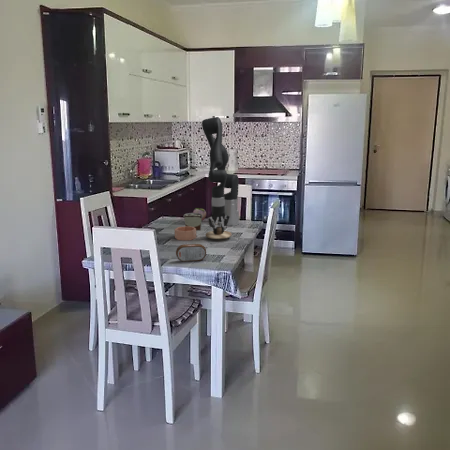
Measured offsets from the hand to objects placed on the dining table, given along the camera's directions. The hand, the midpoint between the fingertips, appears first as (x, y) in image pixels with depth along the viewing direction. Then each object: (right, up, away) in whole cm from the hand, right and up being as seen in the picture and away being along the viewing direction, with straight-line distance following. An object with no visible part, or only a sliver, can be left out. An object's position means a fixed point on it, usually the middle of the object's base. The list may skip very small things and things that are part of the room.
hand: (218, 233), depth 268 cm
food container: (-16, +2, +24) cm, 29 cm away
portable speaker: (-13, -13, -38) cm, 42 cm away
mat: (0, -3, +1) cm, 3 cm away
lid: (0, -1, 0) cm, 1 cm away
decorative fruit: (-13, +7, +45) cm, 47 cm away
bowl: (-19, -3, +3) cm, 20 cm away
